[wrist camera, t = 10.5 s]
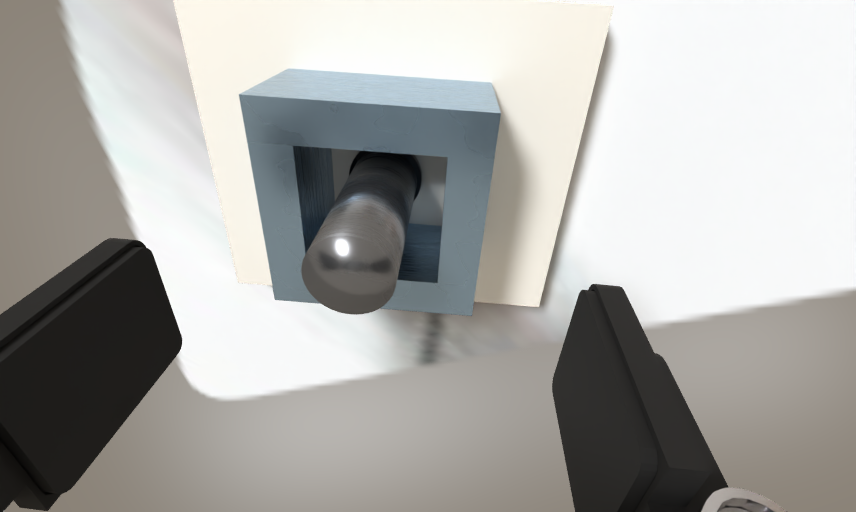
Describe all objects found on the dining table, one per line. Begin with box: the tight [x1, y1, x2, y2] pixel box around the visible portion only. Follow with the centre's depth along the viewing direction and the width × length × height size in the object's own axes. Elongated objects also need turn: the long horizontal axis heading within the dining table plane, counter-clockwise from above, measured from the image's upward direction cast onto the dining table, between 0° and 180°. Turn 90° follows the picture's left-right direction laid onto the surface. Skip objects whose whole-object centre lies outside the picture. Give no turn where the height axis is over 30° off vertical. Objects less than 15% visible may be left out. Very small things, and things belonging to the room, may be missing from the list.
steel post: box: [301, 151, 422, 314], centre depth 14 cm, size 3×3×7 cm
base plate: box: [173, 0, 614, 307], centre depth 17 cm, size 14×12×2 cm
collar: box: [239, 68, 501, 316], centre depth 15 cm, size 7×7×4 cm
